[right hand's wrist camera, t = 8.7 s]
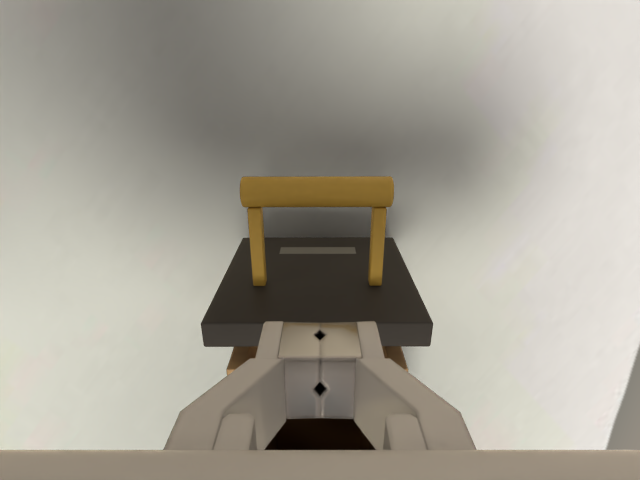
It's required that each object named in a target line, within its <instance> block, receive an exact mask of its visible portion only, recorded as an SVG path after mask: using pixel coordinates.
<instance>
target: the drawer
mask: <svg viewBox="0 0 640 480" xmlns="http://www.w3.org/2000/svg"><path fill="white" fill-rule="evenodd" d="M393 198H394V183H393V179H392V177H390V176H360V177H242V179H241V182H240V199H241V203H242V206H243V207H248V209H247V210H248V223H249V236H250V238H243V239H242V241H241V243H240V245H239V247H238V249H237V251H236V253H235V256H234V258H233V260H232V262H231V264H230V266H229V268H228V270H227V272H226V274H225V276H224V278H223V280H222V282H221V284H220V286H219V288H218V290H217V292H216V294H215V296H214V298H213V300H212V302H211V304H210V306H209V308H208V310H207V312H206V314H205V316H204V318H203V321H202V323H201V328H202V335H203V342H204V346H205V347H234V349H233V352H232V355H231V358H230V361H229V364H228V367H227V376H228V375H229V374H230V373H232V372H233V371H234V370H235V369H237V368H238V367H239V366H241V365H242V364H243V363H245V362H246V361H247V360H249V359H250V358H256V353H257V349H258V345H259V341H260V337H261V333H262V329H263V325H264V323H265V322H266V321H283V322H284V321H285V322H320V323H332V322H363V321H375V322H376V325H377V329H378V333H379V337H380V341H381V345H382V349H383V353H384V358H390V359H391V360H393V361H394V362H395V363H397V364H398V365H399V366H401V367H402V368H403V369H404V370H406V371H407V372H408V368H407V365H406V361H405V358H404V355H403V352H402V348H401V346H430V343H431V336H432V328H433V322H432V320H431V318H430V316H429V314H428V312H427V309H426V307H425V305H424V303H423V301H422V299H421V297H420V295H419V292H418V290H417V288H416V286H415V284H414V282H413V280H412V278H411V275H410V273H409V271H408V269H407V267H406V265H405V263H404V261H403V258H402V256H401V254H400V252H399V250H398V248H397V246H396V244H395V241H394V239H393V238H385V226H386V211H387V209H386V207H390V206H392V203H393ZM262 207H372V214H371V233H370V238H264V225H263V209H262ZM265 450H376V449H375V448H374V447H373V445H372V444H371V443H370V441H369V440H368V439H367V437H366V436H365V435H364V433H363V432H362V431H361V429H360V428H359V427H358V426H357V424H356V423H355V422H354V419H336V418H304V419H286V422H285V423H284V425H283V426H282V427H281V429H280V430H279V431H278V432H277V434H276V435H275V436H274V438H273V439H272V440H271V442H270V443H269V444H268V446H267V447H266V448H265Z"/></svg>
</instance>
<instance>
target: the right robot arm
mask: <svg viewBox="0 0 640 480" xmlns="http://www.w3.org/2000/svg"><path fill="white" fill-rule="evenodd" d="M304 418H336V419H354V422H355V423H356V424H357V426H358V427H359V428H360V429H361V431H362V432H363V433H364V435H365V436H366V437H367V439H368V440H369V441H370V443H371V444H372V445H373V447H374V448H375V449H376V450H265V448H266V447H267V446H268V444H269V443H270V442H271V440H272V439H273V438H274V436H275V435H276V434H277V432H278V431H279V430H280V429H281V427H282V426H283V425H284V423H285V422H286V419H304ZM0 480H640V450H476V447H475V445H474V443H473V440H472V438H471V436H470V434H469V431H468V429H467V427H466V424H465V422H464V420H463V417H462V415H461V413H460V412H459V411H458V410H457V409H455V408H454V407H453V406H451V405H450V404H449V403H447V402H446V401H445V400H444V399H442V398H441V397H440V396H438V395H437V394H436V393H434V392H433V391H432V390H431V389H429V388H428V387H427V386H425V385H424V384H423V383H421V382H420V381H419V380H418V379H416V378H415V377H414V376H412V375H411V374H410V373H408V372H407V371H406V370H404V369H403V368H402V367H401V366H399V365H398V364H397V363H395V362H394V361H393V360H391V359H390V358H384V353H383V349H382V345H381V341H380V337H379V333H378V329H377V325H376V322H375V321H363V322H332V323H320V322H285V321H284V322H283V321H266V322H265V323H264V325H263V329H262V333H261V337H260V341H259V345H258V349H257V353H256V358H250V359H249V360H247V361H246V362H245V363H243V364H242V365H241V366H239V367H238V368H237V369H235V370H234V371H233V372H232V373H230V374H229V375H228V376H226V377H225V378H224V379H222V380H221V381H220V382H218V383H217V384H216V385H215V386H213V387H212V388H211V389H209V390H208V391H207V392H205V393H204V394H203V395H201V396H200V397H199V398H197V399H196V400H195V401H194V402H192V403H191V404H190V405H188V406H187V407H186V408H184V409H183V410H182V411H180V413H179V416H178V418H177V420H176V422H175V425H174V427H173V429H172V431H171V434H170V436H169V438H168V441H167V443H166V445H165V447H164V450H0Z"/></svg>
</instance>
